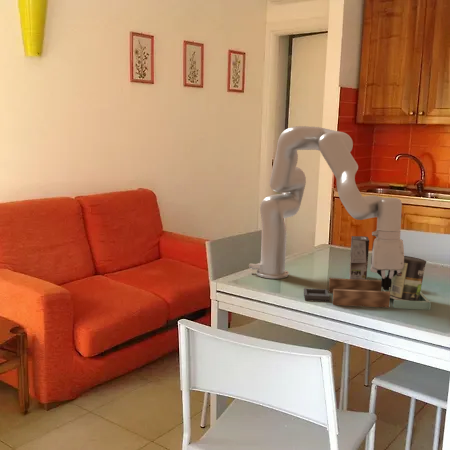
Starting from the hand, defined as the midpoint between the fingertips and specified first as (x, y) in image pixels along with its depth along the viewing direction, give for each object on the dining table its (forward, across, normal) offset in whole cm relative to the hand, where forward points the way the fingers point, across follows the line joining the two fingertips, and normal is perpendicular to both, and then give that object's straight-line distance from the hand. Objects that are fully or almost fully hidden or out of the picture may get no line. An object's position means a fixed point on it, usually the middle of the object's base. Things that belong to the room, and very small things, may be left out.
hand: (386, 289), depth 184 cm
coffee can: (+4, +6, +3) cm, 8 cm away
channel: (+4, -9, +1) cm, 10 cm away
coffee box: (+4, -6, +28) cm, 29 cm away
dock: (+5, +7, +1) cm, 8 cm away
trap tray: (+4, -23, +1) cm, 23 cm away
